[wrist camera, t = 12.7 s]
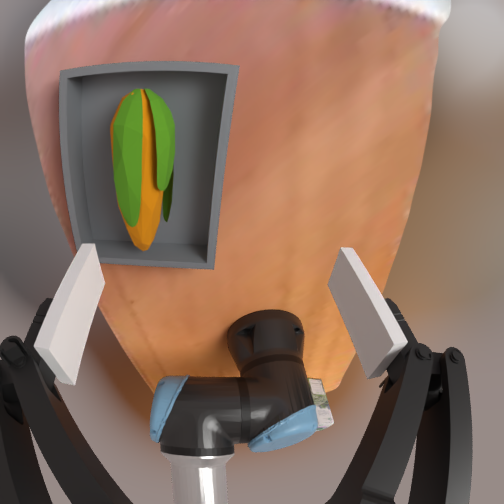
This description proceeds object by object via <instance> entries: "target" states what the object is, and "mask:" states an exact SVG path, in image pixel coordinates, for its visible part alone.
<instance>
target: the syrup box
mask: <svg viewBox="0 0 504 504" xmlns="http://www.w3.org/2000/svg"><path fill="white" fill-rule="evenodd" d="M307 379H308V382H309V386H310V389H311V393H312V397H313V400H314V404H315V405H316V414H317V419H318V427H317V430H316V431H321V430H324V429H326V428H328V427H329V426H331V425H332V424H334V421H333V417H332V414H331V410H330V407H329V404H328V400H327V397H326V394H325V390H324V387H323V384H322V380H321V379H312V378H307Z"/></svg>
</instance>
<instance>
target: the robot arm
mask: <svg viewBox="0 0 504 504" xmlns="http://www.w3.org/2000/svg"><path fill="white" fill-rule="evenodd" d="M104 285H105V281H104V278H103V274H102V271H101V267H100V263H99V259H98V255H97V251H96V247H95V244H82V245H81V247H80V248H79V250H78V252H77V254H76V256H75V257H74V259H73V261H72V263H71V265H70V267H69V269H68V271H67V272H66V274H65V276H64V278H63V280H62V282H61V284H60V287H59V289H58V290H57V292H56V295H55V297H54V299H51V298H47V299H46V300H45V301H44V302H43V303H42V304H41V305H40V306H39V309H38V311H37V313H36V316H35V317H34V320H33V323H32V324H31V327H30V329H29V331H28V334H27V336H26V338H25V341H24V343H23V342H22V340H21V339H20V338H19V337H17V336H10V337H7V338H6V339H5V340H3V342H2V343H1V345H0V357H1V359H2V360H0V504H52V501H51V499H50V496H49V493H48V491H47V488H46V485H45V482H44V479H43V476H42V474H41V470H40V467H39V464H38V460H37V457H36V454H35V449H34V446H33V441H32V437H31V433H30V429H31V431H32V433H33V436H34V438H35V440H36V442H37V444H38V446H39V448H40V450H41V452H42V454H43V456H44V458H45V460H46V462H47V464H48V465H49V467H50V469H51V471H52V473H53V474H54V476H55V478H56V479H57V481H58V483H59V484H60V486H61V488H62V489H63V491H64V492H65V494H66V495H67V497H68V498H69V500H70V501H71V503H72V504H133V503H132V502H131V501H130V500H129V498H128V497H127V496H126V495H125V494H124V493H123V491H122V490H121V489H120V488H119V486H118V485H117V484H116V483H115V481H114V480H113V479H112V477H111V476H110V475H109V473H108V472H107V471H106V469H105V468H104V467H103V465H102V464H101V462H100V461H99V459H98V458H97V457H96V455H95V454H94V452H93V451H92V449H91V448H90V446H89V444H88V443H87V441H86V440H85V438H84V436H83V435H82V433H81V431H80V430H79V428H78V426H77V425H76V423H75V421H74V419H73V418H72V416H71V414H70V412H69V410H68V409H67V407H66V405H65V403H64V401H63V399H62V397H61V395H60V393H59V391H58V388H57V387H56V385H55V384H54V380H55V377H57V378H58V379H59V381H60V382H61V383H66V384H72V385H75V383H76V378H77V374H78V370H79V366H80V362H81V358H82V354H83V350H84V347H85V344H86V340H87V337H88V333H89V330H90V327H91V323H92V320H93V317H94V314H95V311H96V308H97V305H98V302H99V299H100V296H101V293H102V290H103V288H104ZM328 287H329V289H330V291H331V293H332V296H333V298H334V300H335V302H336V305H337V307H338V309H339V311H340V314H341V316H342V318H343V321H344V323H345V325H346V328H347V330H348V332H349V335H350V337H351V340H352V342H353V344H354V347H355V349H356V352H357V354H358V356H359V359H360V361H361V364H362V366H363V369H364V372H365V374H366V377H367V379H370V378H375V377H379V376H381V375H382V374H383V373H384V371H385V370H387V372H388V376H387V377H386V378H385V380H384V381H383V382H382V383H381V384H380V386H379V387H382V386H383V389H382V391H381V394H380V397H379V399H378V402H377V405H376V407H375V410H374V412H373V415H372V417H371V420H370V422H369V425H368V427H367V429H366V431H365V434H364V436H363V438H362V440H361V443H360V445H359V447H358V449H357V451H356V453H355V455H354V457H353V459H352V462H351V463H350V465H349V467H348V469H347V471H346V473H345V475H344V477H343V479H342V480H341V482H340V484H339V486H338V488H337V489H336V491H335V493H334V494H333V496H332V497H331V499H330V500H328V502H326V503H325V504H395V502H394V496H395V494H396V491H397V489H398V487H399V484H400V482H401V479H402V477H403V474H404V471H405V469H406V466H407V463H408V460H409V457H410V455H411V452H412V449H413V445H414V442H415V439H416V436H417V441H416V453H415V463H414V471H413V478H412V484H411V491H410V497H409V502H408V504H469V498H470V489H471V476H472V420H471V405H470V394H469V386H468V378H467V372H466V365H465V359H464V356H463V354H462V353H461V352H460V351H459V350H458V349H457V348H454V347H450V348H448V349H447V350H446V351H445V352H444V353H435V352H432V351H431V350H430V349H429V347H427V346H426V345H424V344H421V343H418V342H417V340H416V338H415V337H414V335H413V333H412V331H411V329H410V328H409V326H408V324H407V322H406V321H405V320H404V317H403V315H402V314H401V312H400V310H399V309H398V307H397V305H396V304H395V303H394V302H393V301H391V300H390V299H389V298H387V299H384V298H383V296H382V295H381V293H380V291H379V290H378V288H377V286H376V285H375V283H374V281H373V280H372V278H371V276H370V275H369V273H368V271H367V270H366V268H365V267H364V265H363V263H362V262H361V260H360V259H359V257H358V256H357V254H356V252H355V251H354V249H353V248H340V251H339V254H338V257H337V260H336V263H335V265H334V268H333V271H332V274H331V277H330V280H329V282H328ZM227 341H228V348H229V351H230V353H231V355H232V357H233V359H234V361H235V363H236V365H237V367H238V369H239V371H240V377H194V376H190V375H186V376H165V377H163V378H162V379H161V380H160V381H159V383H158V385H157V387H156V390H155V394H154V398H153V403H152V410H151V417H150V437H151V439H152V440H153V441H155V442H156V443H159V442H160V445H161V454H162V455H164V456H165V457H166V458H167V459H168V460H169V461H170V463H171V475H172V489H173V499H174V500H173V501H174V504H228V495H227V481H226V466H225V464H226V463H227V461H228V460H229V459H230V458H232V457H233V456H234V444H238V443H248V447H249V448H250V450H251V451H252V452H266V451H272V450H276V449H281V448H284V447H287V446H290V445H293V444H296V443H298V442H300V441H303V440H304V439H306V438H308V437H310V436H311V435H312V434H313V433H314V432H315V431H316V430H317V427H318V419H317V414H316V405H315V404H314V400H313V397H312V393H311V389H310V386H309V382H308V379H307V375H306V371H305V368H304V364H303V360H302V358H303V348H304V330H303V326H302V323H301V321H300V320H299V318H298V317H296V316H295V315H294V314H292V313H289V312H286V311H281V310H264V311H258V312H254V313H251V314H249V315H246V316H244V317H242V318H241V319H239V320H238V321H236V322H235V323H234V324H233V325H232V326H231V327H230V329H229V331H228V334H227ZM383 384H384V385H383ZM29 427H30V428H29Z"/></svg>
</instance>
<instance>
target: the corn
mask: <svg viewBox="0 0 504 504" xmlns="http://www.w3.org/2000/svg"><path fill="white" fill-rule="evenodd" d="M110 135H111V149H112V161H113V171H114V182H115V188H116V195H117V202H118V207H119V209H120V212H121V215H122V218H123V220H124V223H125V225H126V228H127V230H128V233H129V235H130V237H131V239H132V241H133V244H134V245H135V246H136V247H138V248H139V249H140V250H142V251H145V250H148V249H149V247H150V245H151V244H152V242H153V240H154V238H155V235H156V231H157V228H158V225H159V222H160V215H161V206H162V199H163V218H164V220H165V221H166V222H168V218H169V214H170V209H171V204H172V193H173V177H174V156H175V123H174V120H173V117H172V113H171V111H170V109H169V108H168V106H167V105H166V103H165V102H164V100H163V99H162V98H161V97H160V96H158V95H157V94H156V93H154V92H153V91H152V90H150V89H145V88H143V89H139V88H138V89H134V90H133V91H132V92H130V93H128V94H127V95H125V96H124V97H122V99H121V101H120V103H119V105H118V108H117V110H116V112H115V114H114V117H113V119H112V122H111V125H110Z"/></svg>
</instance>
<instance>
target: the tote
mask: <svg viewBox="0 0 504 504" xmlns="http://www.w3.org/2000/svg"><path fill="white" fill-rule="evenodd" d="M239 67H240V66H238V65H229V64H218V63H205V62H186V61H144V62H125V63H112V64H102V65H93V66H86V67H79V68H73V69H67V70H61V71H60V82H59V127H60V146H61V158H62V168H63V177H64V185H65V192H66V199H67V205H68V211H69V216H70V222H71V227H72V232H73V236H74V241H75V245H76V249H77V252H78V250H79V248H80V247H81V245H82V244H95V247H96V251H97V255H98V259H99V263H107V264H122V265H138V266H155V267H173V268H192V269H213V270H214V264H215V254H216V243H217V234H218V224H219V215H220V206H221V197H222V188H223V180H224V172H225V164H226V156H227V148H228V141H229V133H230V126H231V119H232V112H233V105H234V99H235V92H236V86H237V79H238V73H239ZM138 88H139V89H143V88H145V89H150V90H152V91H153V92H154V93H156V94H157V95H158V96H160V97H161V98H162V99H163V100H164V102H165V103H166V105H167V106H168V108H169V109H170V111H171V113H172V117H173V120H174V123H175V156H174V177H173V193H172V204H171V209H170V214H169V218H168V222H166V221H165V220H164V218H163V199H162V206H161V215H160V222H159V225H158V228H157V231H156V235H155V238H154V240H153V242H152V244H151V245H150V247H149V249H148V250H145V251H142V250H140V249H139V248H138V247H136V246H135V245H134V244H133V241H132V239H131V237H130V235H129V233H128V230H127V228H126V225H125V223H124V220H123V218H122V215H121V212H120V209H119V207H118V202H117V195H116V188H115V182H114V171H113V161H112V149H111V135H110V125H111V122H112V119H113V117H114V114H115V112H116V110H117V108H118V105H119V103H120V101H121V99H122V97H124V96H125V95H127V94H128V93H130V92H132V91H133V90H134V89H138Z"/></svg>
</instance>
